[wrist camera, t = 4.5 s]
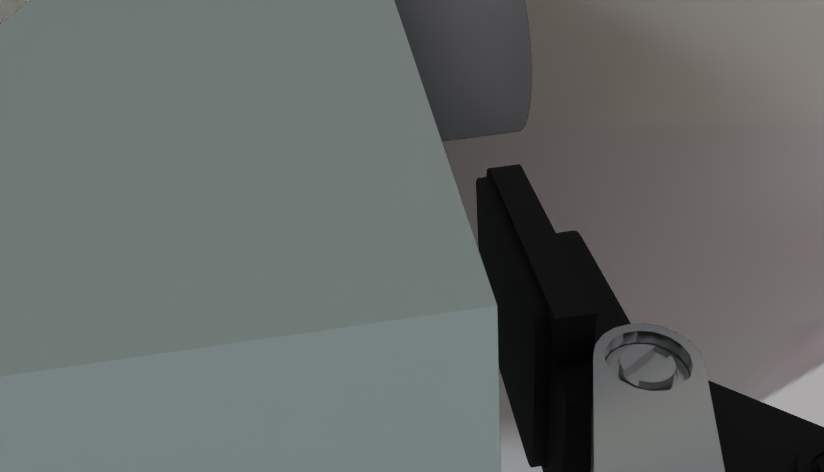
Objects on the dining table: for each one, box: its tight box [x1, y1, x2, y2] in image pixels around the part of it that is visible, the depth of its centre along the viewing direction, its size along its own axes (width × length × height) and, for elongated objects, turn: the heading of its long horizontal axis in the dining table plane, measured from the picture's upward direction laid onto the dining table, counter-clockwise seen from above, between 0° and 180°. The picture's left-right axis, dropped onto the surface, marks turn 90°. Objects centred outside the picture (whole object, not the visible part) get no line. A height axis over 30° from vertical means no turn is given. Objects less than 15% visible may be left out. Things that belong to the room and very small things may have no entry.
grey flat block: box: [0, 0, 532, 472], centre depth 11 cm, size 14×4×12 cm, turn 5°
